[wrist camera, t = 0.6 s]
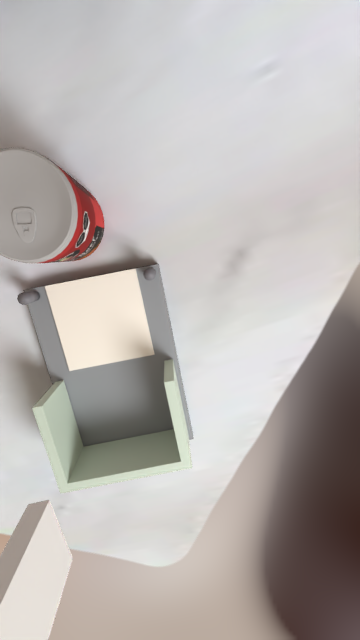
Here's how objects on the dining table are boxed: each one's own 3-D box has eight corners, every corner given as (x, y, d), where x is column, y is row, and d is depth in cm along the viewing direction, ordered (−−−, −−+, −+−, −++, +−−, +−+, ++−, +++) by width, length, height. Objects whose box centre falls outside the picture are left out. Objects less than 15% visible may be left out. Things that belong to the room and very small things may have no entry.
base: (28, 289, 33) (11, 293, 29) (158, 263, 33) (157, 264, 29) (79, 455, 38) (69, 476, 34) (192, 433, 38) (195, 451, 34)
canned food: (53, 270, 33) (-2, 277, 22) (21, 198, 31) (-56, 168, 20) (117, 247, 32) (92, 243, 22) (89, 173, 31) (47, 129, 20)
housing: (55, 381, 34) (32, 407, 28) (172, 359, 34) (174, 380, 28) (77, 455, 36) (60, 493, 30) (188, 433, 36) (192, 468, 30)
